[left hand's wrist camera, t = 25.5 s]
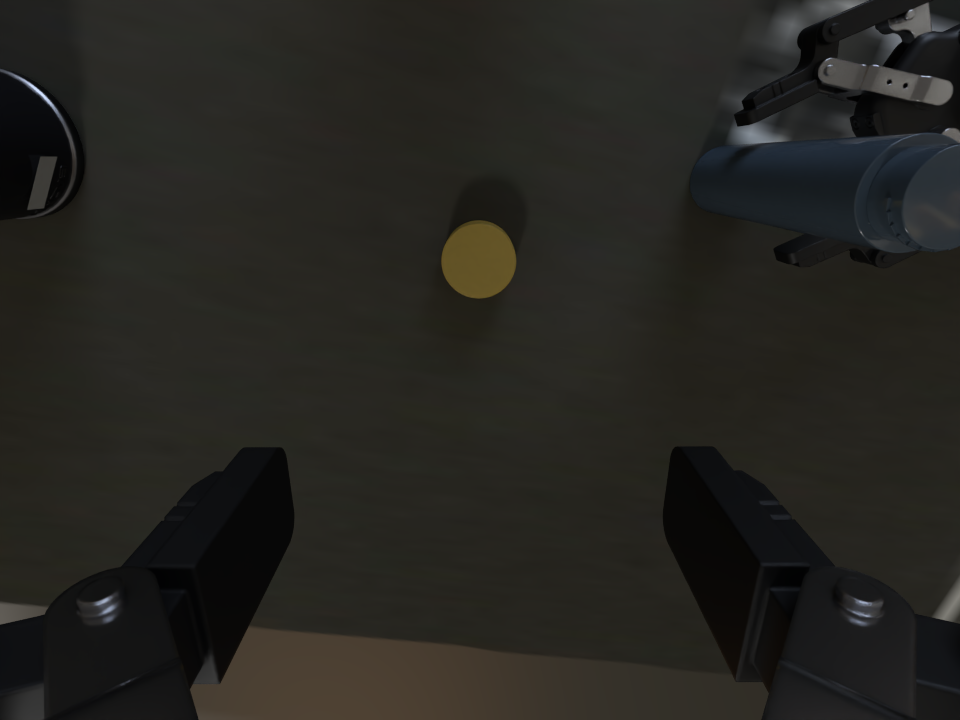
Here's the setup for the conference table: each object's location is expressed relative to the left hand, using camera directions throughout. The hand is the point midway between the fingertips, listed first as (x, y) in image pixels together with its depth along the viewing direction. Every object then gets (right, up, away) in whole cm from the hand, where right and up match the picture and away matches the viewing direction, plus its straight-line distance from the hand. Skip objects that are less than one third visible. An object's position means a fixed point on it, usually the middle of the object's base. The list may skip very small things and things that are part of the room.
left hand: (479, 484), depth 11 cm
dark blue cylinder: (+17, +15, +27) cm, 35 cm away
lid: (0, +9, +27) cm, 28 cm away
